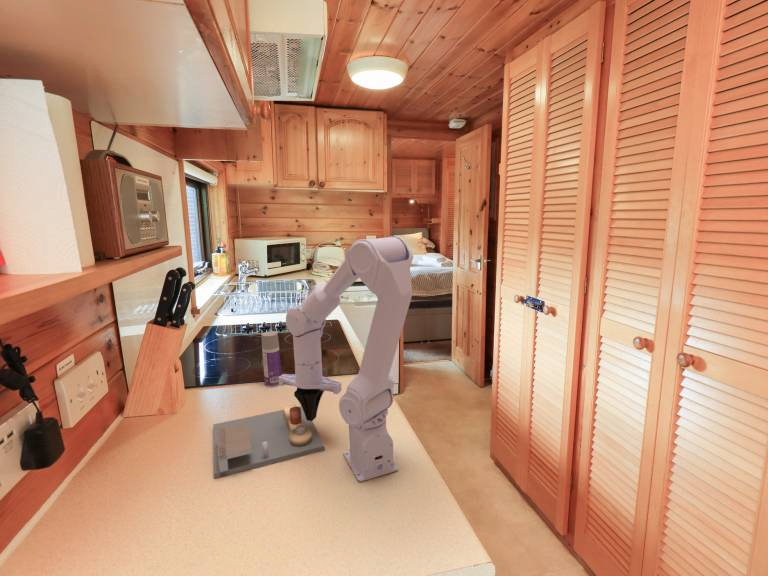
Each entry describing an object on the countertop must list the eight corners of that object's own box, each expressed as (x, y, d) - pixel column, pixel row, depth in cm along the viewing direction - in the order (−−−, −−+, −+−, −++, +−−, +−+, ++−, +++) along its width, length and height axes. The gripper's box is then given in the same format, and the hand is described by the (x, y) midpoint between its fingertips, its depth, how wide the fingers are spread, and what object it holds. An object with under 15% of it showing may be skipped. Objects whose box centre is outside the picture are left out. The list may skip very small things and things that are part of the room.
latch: (314, 442, 82) (313, 422, 81) (292, 448, 80) (290, 427, 79) (299, 409, 96) (298, 392, 95) (280, 413, 94) (278, 396, 93)
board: (324, 450, 81) (323, 432, 80) (214, 478, 73) (212, 459, 72) (304, 409, 98) (303, 394, 98) (213, 428, 90) (211, 412, 89)
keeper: (253, 468, 76) (251, 448, 75) (220, 477, 73) (218, 456, 73) (249, 441, 85) (247, 423, 84) (219, 448, 82) (217, 429, 82)
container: (284, 380, 116) (280, 331, 113) (278, 387, 111) (274, 336, 108) (268, 379, 116) (264, 331, 113) (262, 386, 111) (258, 336, 109)
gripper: (346, 357, 86) (348, 414, 88) (289, 350, 91) (293, 405, 93) (331, 369, 79) (334, 431, 82) (271, 361, 84) (275, 419, 87)
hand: (311, 418), depth 87 cm, fingers closed
